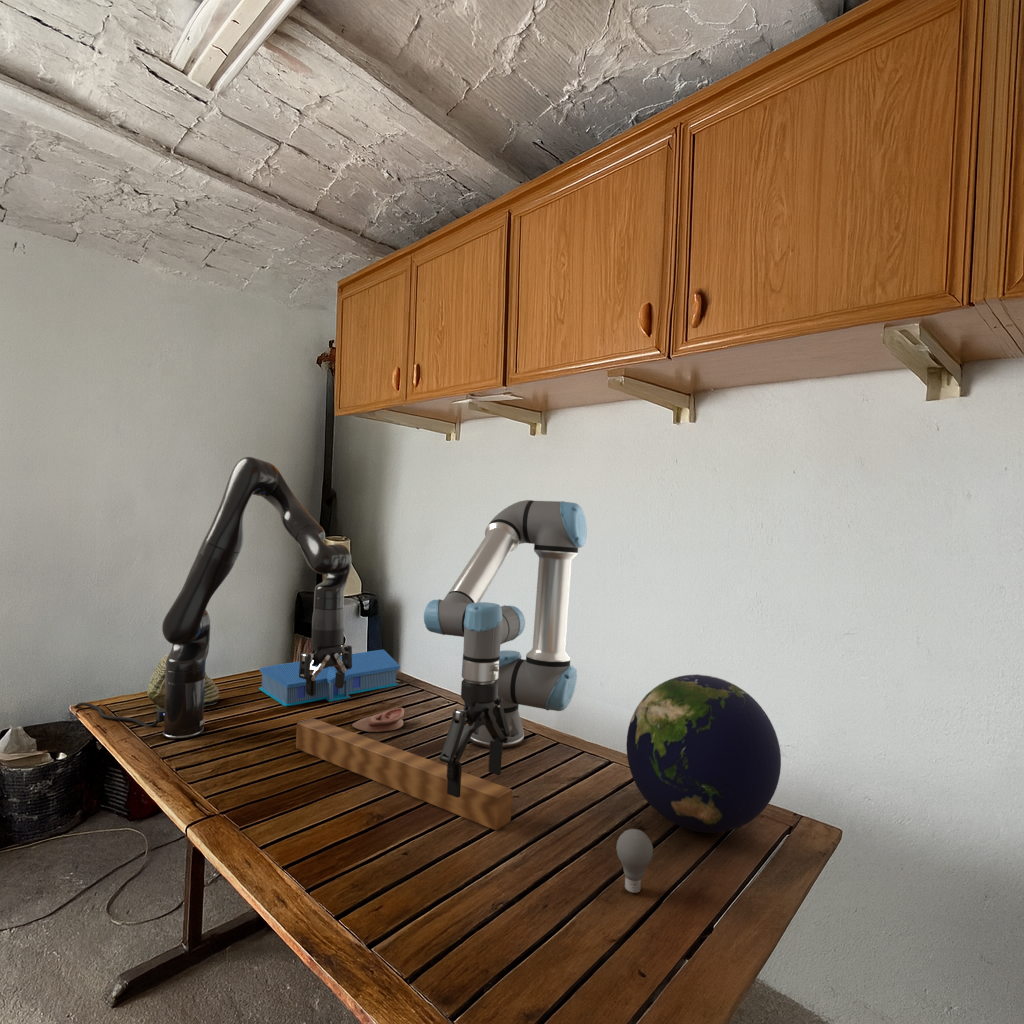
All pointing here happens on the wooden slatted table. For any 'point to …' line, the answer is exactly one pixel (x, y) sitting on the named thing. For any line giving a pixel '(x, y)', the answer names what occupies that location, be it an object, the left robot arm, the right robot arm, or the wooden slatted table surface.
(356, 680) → the model building
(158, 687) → the fossil
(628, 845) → the light bulb
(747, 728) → the globe
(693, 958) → the wooden slatted table surface
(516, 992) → the wooden slatted table surface
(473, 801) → the post
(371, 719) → the anatomical model
